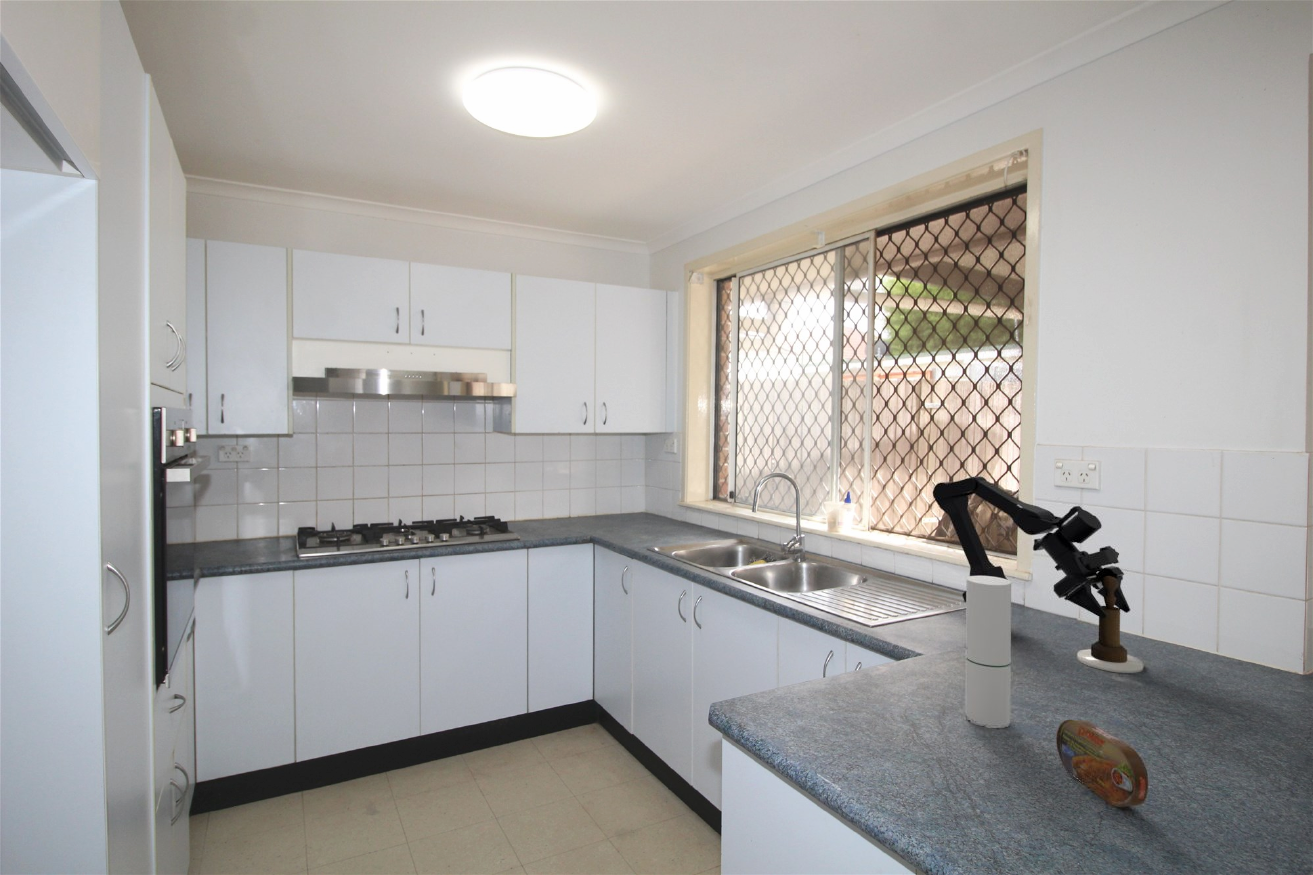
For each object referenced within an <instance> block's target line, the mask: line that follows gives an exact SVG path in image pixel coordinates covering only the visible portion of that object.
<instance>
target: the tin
mask: <svg viewBox="0 0 1313 875" xmlns="http://www.w3.org/2000/svg"><path fill="white" fill-rule="evenodd" d="M1055 740H1056V748H1057V749H1056V750H1057V753H1058V756H1059V759H1060V761H1061V764H1062V766H1063V767H1064V769H1065V771H1066V772H1067V771H1068V772H1067V773H1068V774H1069V773H1071V774H1072V775H1074V776H1075V777H1076V778H1078V780H1080V781H1081V782H1083V784H1085V785H1086V786H1088V787H1089V788H1090V789H1091V790H1090V789H1089V788H1088V787H1087V788H1088V789H1089V790H1090V791H1092V790H1093V791H1094V792H1096V793H1095V794H1096V795H1097V794H1098V795H1099V796H1098V795H1097V796H1098V797H1100V796H1101V797H1102V798H1101V797H1100V798H1101V799H1103V800H1104V799H1105V800H1106V801H1105V800H1104V801H1105V802H1107V803H1108V804H1109V803H1110V805H1111V806H1113V807H1118V808H1125V807H1136V806H1138V807H1139V806H1140V805H1141V804H1143V803H1144V802H1145V801H1146V799H1147V796H1148V791H1149V774H1148V771H1147V768H1146V765H1145V763H1144V761H1143V759H1142V758H1141V756H1140V755H1139V753H1138V752H1137V751H1136V750H1135V748H1133V747H1131V746H1130V745H1129V744H1128V743H1126V742H1124V741H1123V740H1120V739H1119V738H1117V737H1115V736H1113V735H1112V734H1111V733H1109V732H1107V731H1106V730H1104V729H1102V728H1100V727H1099V726H1097V725H1096V724H1094V723H1091V722H1089V721H1086V720H1075V719H1066V720H1064V721H1062V722H1061V723H1060V724H1059V726H1058V728H1057V732H1056V739H1055ZM1078 780H1077V781H1078ZM1081 782H1080V783H1081ZM1083 784H1082V785H1083ZM1085 785H1084V786H1085ZM1086 786H1085V787H1086ZM1093 791H1092V792H1093ZM1094 792H1093V793H1094Z"/></svg>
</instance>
